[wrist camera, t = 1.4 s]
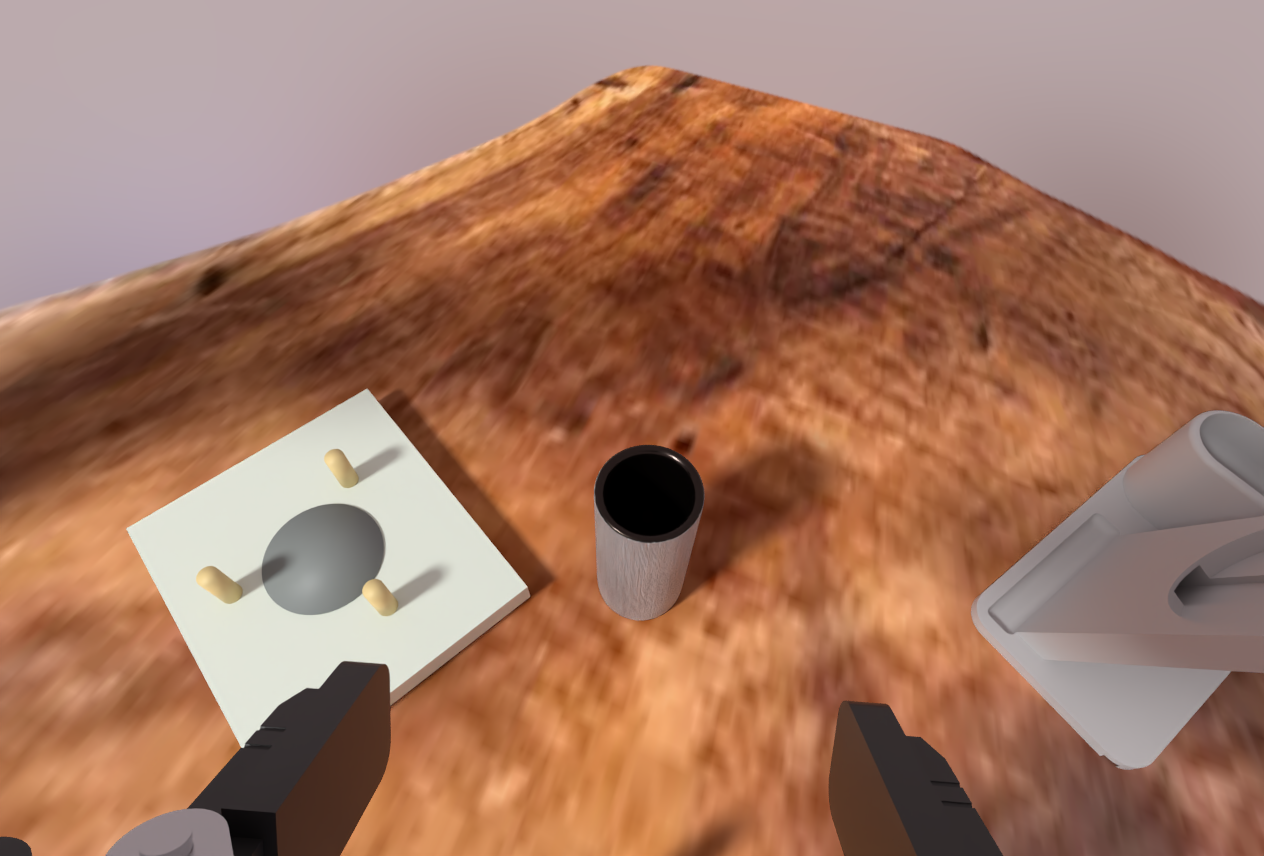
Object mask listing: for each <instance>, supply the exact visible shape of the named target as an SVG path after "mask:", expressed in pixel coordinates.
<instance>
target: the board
mask: <svg viewBox="0 0 1264 856" xmlns="http://www.w3.org/2000/svg"><path fill="white" fill-rule="evenodd" d="M126 529H127V531H128V533H129V535H130V537H131V539H132V541H133V543H134V544H135V546H136V548H137V550H138V552H139V554H140V556H141V558H142V560H143V562H144V563H145V565H146V567H147V569H148V571H149V573H150V575H151V577H152V579H153V580H154V582H155V584H156V586H157V588H158V590H159V592H160V594H161V596H162V598H163V599H164V601H165V603H166V605H167V607H168V609H169V611H170V613H171V615H172V617H173V618H174V620H175V622H176V624H177V626H178V628H179V630H180V632H181V634H182V636H183V637H184V639H185V641H186V643H187V645H188V647H189V649H190V651H191V653H192V655H193V656H194V658H195V660H196V662H197V664H198V666H199V668H200V670H201V672H202V674H203V675H204V677H205V679H206V681H207V683H208V685H209V687H210V689H211V691H212V693H213V694H214V696H215V698H216V700H217V702H218V704H219V706H220V708H221V710H222V712H223V713H224V715H225V717H226V719H227V721H228V723H229V725H230V727H231V729H232V731H233V732H234V734H235V736H236V738H237V740H238V742H239V744H240V746H241V748H244V746H245V743H246V742H247V740H248V739H249V738H250V737H251V736H252V735H253V734H254V733H255V731H256V730H260V726H261V725H262V724H263V722H264V721H265V720H266V719H267V718H268V717H269V716H270V714H271V713H272V712H273V711H274V710H275V709H276V708H277V707H278V705H280V704H281V703H283V702H284V701H286V700H288V699H289V698H291V697H293V696H294V695H296V694H297V693H299V692H301V691H302V690H304V689H306V688H315V689H319V688H320V687H321V686H322V684H323V683H324V682H325V681H326V680H327V678H328V677H329V676H330V675H331V673H332V672H333V671H334V670H335V669H336V667H337V666H338V665H339V664H340V663H341V662H343V661H353V662H366V663H379V664H386V665H387V666H388V668H389V673H390V706H391V705H392V704H393V703H395V702H396V701H397V700H399V699H400V698H401V697H402V696H404V695H405V694H406V693H408V692H409V691H410V690H411V689H413V688H414V687H415V686H417V685H418V684H419V683H420V682H422V681H423V680H424V679H426V678H427V677H428V676H429V675H431V674H432V673H433V672H434V671H436V670H437V669H438V668H440V667H441V666H442V665H443V664H445V663H446V662H447V661H449V660H450V659H451V658H452V657H454V656H455V655H456V654H458V653H459V652H460V651H461V650H463V649H464V648H465V647H467V646H468V645H469V644H470V643H472V642H473V641H474V640H475V639H477V638H478V637H479V636H481V635H482V634H483V633H484V632H486V631H487V630H488V629H490V628H491V627H492V626H493V625H495V624H496V623H497V622H499V621H500V620H501V619H502V618H504V617H505V616H506V615H508V614H509V613H510V612H511V611H513V610H514V609H515V608H517V607H518V606H519V605H520V604H522V603H523V602H524V601H525V600H527V599H528V598H529V597H530V593H529V590H528V587H527V585H526V584H525V583H524V582H523V581H522V579H521V578H520V577H519V576H518V574H517V573H516V572H515V571H514V569H513V568H512V567H511V566H510V564H509V563H508V562H507V561H506V560H505V558H504V557H503V556H502V555H501V553H500V552H499V551H498V550H497V548H496V547H495V546H494V545H493V543H492V542H491V541H490V540H489V538H488V537H487V536H486V535H485V534H484V532H483V531H482V530H481V529H480V527H479V526H478V525H477V524H476V522H475V521H474V520H473V519H472V517H471V516H470V515H469V514H468V513H467V511H466V510H465V509H464V508H463V506H462V505H461V504H460V503H459V501H458V500H457V499H456V498H455V496H454V495H453V494H452V493H451V492H450V490H449V489H448V488H447V487H446V485H445V484H444V483H443V482H442V480H441V479H440V478H439V477H438V475H437V474H436V473H435V472H434V470H433V469H432V468H431V467H430V466H429V464H428V463H427V462H426V461H425V459H424V458H423V457H422V456H421V454H420V453H419V452H418V451H417V449H416V448H415V447H414V446H413V445H412V443H411V442H410V441H409V440H408V438H407V437H406V436H405V435H404V433H403V432H402V431H401V430H400V428H399V427H398V426H397V425H396V423H395V422H394V421H393V420H392V419H391V417H390V416H389V415H388V414H387V412H386V411H385V410H384V409H383V407H382V406H381V405H380V404H379V402H378V401H377V400H376V399H375V398H374V396H373V395H372V394H371V393H370V391H369V390H368V389H366V390H364V391H362V392H360V393H359V394H357V395H355V396H354V397H352V398H350V399H348V400H347V401H345V402H343V403H342V404H340V405H338V406H336V407H335V408H333V409H331V410H329V411H328V412H326V413H324V414H323V415H321V416H319V417H317V418H316V419H314V420H312V421H311V422H309V423H307V424H305V425H304V426H302V427H300V428H299V429H297V430H295V431H293V432H292V433H290V434H288V435H286V436H285V437H283V438H281V439H280V440H278V441H276V442H274V443H273V444H271V445H269V446H268V447H266V448H264V449H262V450H261V451H259V452H257V453H255V454H254V455H252V456H250V457H249V458H247V459H245V460H243V461H242V462H240V463H238V464H237V465H235V466H233V467H231V468H230V469H228V470H226V471H225V472H223V473H221V474H219V475H218V476H216V477H214V478H212V479H211V480H209V481H207V482H206V483H204V484H202V485H200V486H199V487H197V488H195V489H194V490H192V491H190V492H188V493H187V494H185V495H183V496H182V497H180V498H178V499H176V500H175V501H173V502H171V503H169V504H168V505H166V506H164V507H163V508H161V509H159V510H157V511H156V512H154V513H152V514H151V515H149V516H147V517H145V518H144V519H142V520H140V521H138V522H137V523H135V524H133V525H132V526H130V527H128V528H126Z"/></svg>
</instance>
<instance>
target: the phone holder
mask: <svg viewBox="0 0 1264 856" xmlns="http://www.w3.org/2000/svg"><path fill="white" fill-rule="evenodd" d="M971 616H972V620H973V622H974V625H975V626H976V628H977V630H978V631H979V632H980V633H981V634H982V635H983V636H984V637H985V638H986V639H987V640H988V642H989V643H990V644H991V645H992V646H993V647H994V648H995V649H996V650H997V651H998V652H999V653H1000V654H1001V655H1002V656H1003V657H1004V658H1005V659H1006V660H1007V661H1008V662H1009V663H1010V664H1011V665H1012V666H1013V667H1014V668H1015V669H1016V670H1017V671H1018V672H1019V673H1020V674H1021V675H1022V676H1023V677H1024V678H1025V679H1026V680H1027V681H1028V682H1029V683H1030V684H1031V686H1032V687H1033V688H1034V689H1035V690H1036V691H1037V692H1038V693H1039V694H1040V695H1041V696H1042V697H1043V698H1044V699H1045V700H1046V701H1047V702H1048V703H1049V704H1050V705H1051V706H1052V707H1053V708H1054V709H1055V710H1056V711H1057V712H1058V713H1059V714H1060V715H1061V716H1062V717H1063V718H1064V719H1065V720H1066V721H1067V722H1068V723H1069V724H1070V725H1071V726H1072V727H1073V729H1074V730H1075V731H1076V732H1077V733H1078V734H1079V735H1080V736H1081V737H1082V738H1083V739H1084V740H1085V741H1086V742H1087V743H1088V744H1089V745H1090V746H1091V747H1092V748H1093V749H1094V750H1095V751H1096V752H1097V753H1098V754H1099V755H1100V756H1102V755H1105V756H1106V757H1107V758H1108V759H1109V760H1111V761H1112V762H1114V763H1115V764H1117V766H1116V767H1118V768H1121V769H1127V770H1130V769H1137V768H1142V767H1146V766H1148V765H1150V764H1151V763H1152V762H1153V761H1154V760H1155V759H1156V758H1157V756H1158V755H1159V754H1160V753H1161V752H1162V751H1163V750H1164V748H1165V747H1166V746H1167V745H1168V744H1169V743H1170V741H1171V740H1172V739H1173V738H1174V737H1175V736H1176V735H1177V733H1178V732H1179V731H1180V730H1181V729H1182V728H1183V726H1184V725H1185V724H1186V723H1187V722H1188V721H1189V719H1190V718H1191V717H1192V716H1193V715H1194V714H1195V713H1196V711H1197V710H1198V709H1199V708H1200V707H1201V706H1202V704H1203V703H1204V702H1205V701H1206V700H1207V699H1208V698H1209V696H1210V695H1211V694H1212V693H1213V692H1214V691H1215V689H1216V688H1217V687H1218V686H1219V685H1220V684H1221V683H1222V681H1223V680H1224V679H1225V678H1226V677H1227V676H1228V674H1229V673H1230V672H1231V671H1239V672H1255V673H1264V428H1263V427H1262V426H1261V425H1259V424H1258V423H1256V422H1254V421H1253V420H1251V419H1249V418H1247V417H1245V416H1242V415H1240V414H1237V413H1233V412H1229V411H1220V410H1214V411H1207V412H1204V413H1201V414H1199V415H1197V416H1196V417H1194V418H1193V419H1192V420H1190V421H1189V422H1188V423H1187V424H1185V425H1184V426H1183V427H1181V428H1180V429H1179V430H1177V431H1176V432H1175V433H1174V434H1172V435H1171V436H1170V437H1168V438H1167V439H1166V440H1164V441H1163V442H1162V443H1161V444H1159V445H1158V446H1157V447H1155V448H1154V449H1153V450H1151V451H1150V452H1149V453H1147V454H1146V455H1141V456H1139V457H1137V458H1135V459H1134V460H1133V461H1132V462H1130V463H1129V464H1128V465H1127V466H1126V467H1124V468H1123V469H1122V470H1121V471H1120V472H1119V473H1118V474H1116V475H1115V476H1114V477H1113V478H1112V479H1111V480H1110V481H1108V482H1107V483H1106V484H1105V485H1104V486H1103V487H1102V488H1101V489H1099V490H1098V491H1097V492H1096V493H1095V494H1094V495H1093V496H1091V497H1090V498H1089V499H1088V500H1087V501H1086V502H1085V503H1083V504H1082V505H1081V506H1080V507H1079V508H1078V509H1077V510H1076V511H1074V512H1073V513H1072V514H1071V515H1070V516H1069V517H1068V518H1066V519H1065V520H1064V521H1063V522H1062V523H1061V524H1060V525H1058V526H1057V527H1056V528H1055V529H1054V530H1053V531H1052V532H1051V533H1049V534H1048V535H1047V536H1046V537H1045V538H1044V539H1043V540H1041V541H1040V542H1039V543H1038V544H1037V545H1036V546H1035V547H1033V548H1032V549H1031V550H1030V551H1029V552H1028V553H1027V554H1025V555H1024V556H1023V557H1022V558H1021V559H1020V560H1019V561H1018V562H1016V563H1015V564H1014V565H1013V566H1012V567H1011V568H1010V569H1008V570H1007V571H1006V572H1005V573H1004V574H1003V575H1002V576H1000V577H999V578H998V579H997V580H996V581H995V582H994V583H993V584H991V585H990V586H989V587H988V588H987V589H986V590H985V591H983V592H982V593H981V594H980V595H979V596H978V597H977V598H976V599H975V600H974V602H973V604H972V607H971Z"/></svg>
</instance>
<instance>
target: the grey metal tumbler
mask: <svg viewBox="0 0 1264 856" xmlns="http://www.w3.org/2000/svg"><path fill="white" fill-rule="evenodd" d="M703 505H704V487H703V483H702V480H701V477H700V475H699V473H698V472H697V470H696V469H695V467H694V466H693V465H692V464H691V463H690V462H689V461H688V460H687V459H686V458H685V457H684V456H682V455H681V454H679V453H677V452H676V451H673V450H671V449H669V448H665V447H662V446H657V445H639V446H634V447H630V448H627V449H625V450H623V451H620V452H619V453H617V454H615V455H614V456H613V457H611V458H610V459H609V460H608V461H607V462H606V463H605V464H604V466H603V467H602V469H601V470H600V472H599V474H598V476H597V479H596V482H595V487H594V508H595V533H596V558H597V580H598V586H599V590H600V593H601V595H602V598H603V599H604V601H605V602H606V604H607V605H608V606H609V607H610V608H611V609H612V610H613V611H614V612H616V613H617V614H619V615H621V616H623V617H625V618H628V619H632V620H649V619H653V618H656V617H658V616H661V615H662V614H664V613H665V612H667V611H668V610H669V609H670V608H671V607H672V606H673V605H674V603H675V602H676V600H677V599H678V597H679V594H680V592H681V589H682V586H683V582H684V578H685V575H686V571H687V567H688V563H689V559H690V555H691V552H692V548H693V544H694V540H695V536H696V533H697V529H698V525H699V521H700V517H701V513H702V509H703Z"/></svg>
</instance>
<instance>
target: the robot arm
mask: <svg viewBox="0 0 1264 856" xmlns="http://www.w3.org/2000/svg"><path fill="white" fill-rule="evenodd" d="M390 743H391V727H390V673H389V668H388V666H387V665H386V664H379V663H366V662H353V661H343V662H341V663H340V664H339V665H338V666H337V667H336V669H335V670H334V671H333V672H332V673H331V675H330V676H329V677H328V678H327V680H326V681H325V682H324V683H323V684H322V686H321V687H320V688H319V689H315V688H306V689H304V690H302V691H301V692H299V693H297V694H296V695H294V696H293V697H291V698H289V699H288V700H286V701H284V702H283V703H281V704H280V705H278V707H277V708H276V709H275V710H274V711H273V712H272V713H271V714H270V716H269V717H268V718H267V719H266V720H265V721H264V722H263V724H262V725H261V726H260V730H256V731H255V733H254V734H253V735H252V736H251V737H250V738H249V739H248V740H247V742H246V743H245V746H244V748H240V750H239V751H238V752H237V753H236V754H235V755H234V756H233V757H232V759H231V760H230V761H229V762H228V763H227V764H226V765H225V767H224V768H223V769H222V770H221V771H220V772H219V773H218V774H217V776H216V777H215V778H214V779H213V780H212V781H211V782H210V784H209V785H208V786H207V787H206V788H205V789H204V790H203V791H202V793H201V794H200V795H199V796H198V797H197V798H196V799H195V801H194V802H193V803H192V804H191V805H190V806H189V807H188V808H187V809H183V810H177V811H173V812H169V813H166V814H163V815H160V816H157V817H155V818H153V819H150V820H148V821H146V822H144V823H142V824H141V825H139V826H137V827H135V828H134V829H132V830H131V831H130V832H128V833H127V834H125V835H124V836H123V837H122V838H121V839H119V840H118V841H117V842H116V843H115V844H114V845H113V846H112V848H111V849H110V850H109V851H108V853H107V854H106V856H340V855H341V853H342V851H343V849H344V847H345V846H346V844H347V842H348V840H349V838H350V836H351V835H352V833H353V831H354V829H355V827H356V826H357V824H358V822H359V820H360V818H361V816H362V815H363V813H364V811H365V809H366V807H367V805H368V804H369V802H370V800H371V798H372V796H373V794H374V793H375V791H376V789H377V787H378V785H379V783H380V782H381V780H382V777H383V775H384V772H385V769H386V766H387V762H388V758H389V752H390ZM829 803H830V810H831V815H832V819H833V822H834V825H835V828H836V831H837V834H838V837H839V840H840V844H841V847H842V850H843V853H844V856H1003V855H1002V853H1001V851H1000V850H999V848H998V846H997V845H996V843H995V841H994V840H993V838H992V836H991V835H990V833H989V831H988V830H987V828H986V826H985V825H984V823H983V821H982V820H981V818H980V816H979V815H978V813H977V811H976V810H975V808H972V803H971V801H970V799H969V798H968V796H967V794H966V793H965V791H964V789H963V788H960V783H959V781H958V779H957V778H956V776H955V774H954V773H953V771H952V769H951V768H950V766H949V764H948V763H947V761H946V759H945V758H944V757H943V756H941V755H940V754H939V753H938V752H937V751H936V750H935V749H933V748H932V747H931V746H930V745H929V744H928V743H927V742H925V741H924V740H923V739H922V738H921V737H912V736H905V734H904V732H903V730H902V728H901V726H900V724H899V723H898V721H897V719H896V717H895V715H894V713H893V712H892V710H891V708H890V707H889V706H888V705H887V704H881V703H868V702H855V701H843V702H842V703H841V705H840V708H839V712H838V719H837V726H836V733H835V740H834V747H833V754H832V761H831V768H830V775H829ZM0 856H32V852H31V848H30V847H29V846H28V844H27V843H25V842H24V841H22V840H20V839H17V838H12V837H0Z"/></svg>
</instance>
